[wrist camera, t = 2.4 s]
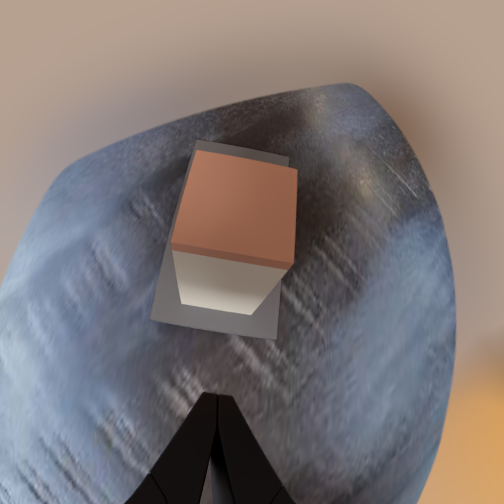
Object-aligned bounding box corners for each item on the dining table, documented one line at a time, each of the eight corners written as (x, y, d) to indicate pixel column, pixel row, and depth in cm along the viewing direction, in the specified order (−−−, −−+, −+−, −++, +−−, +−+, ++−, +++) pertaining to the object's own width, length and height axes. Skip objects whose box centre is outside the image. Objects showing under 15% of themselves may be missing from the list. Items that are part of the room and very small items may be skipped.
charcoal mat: (274, 339, 21) (276, 338, 21) (150, 319, 20) (149, 318, 20) (287, 160, 28) (288, 157, 28) (196, 143, 27) (196, 139, 27)
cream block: (251, 314, 21) (293, 263, 12) (181, 303, 21) (170, 242, 12) (258, 251, 23) (297, 169, 14) (193, 240, 23) (196, 149, 14)
